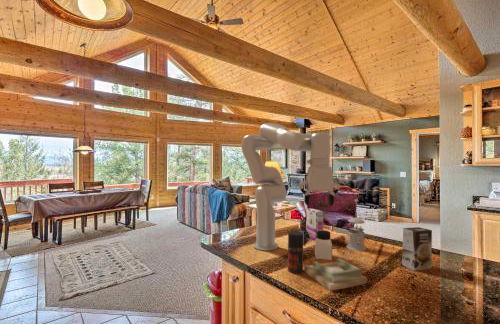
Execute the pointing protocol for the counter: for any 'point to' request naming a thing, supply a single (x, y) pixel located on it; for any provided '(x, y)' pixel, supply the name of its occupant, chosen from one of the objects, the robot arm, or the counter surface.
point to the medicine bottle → (323, 245)
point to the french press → (356, 234)
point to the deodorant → (295, 252)
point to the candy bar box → (314, 222)
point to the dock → (336, 274)
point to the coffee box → (417, 248)
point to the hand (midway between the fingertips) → (318, 204)
